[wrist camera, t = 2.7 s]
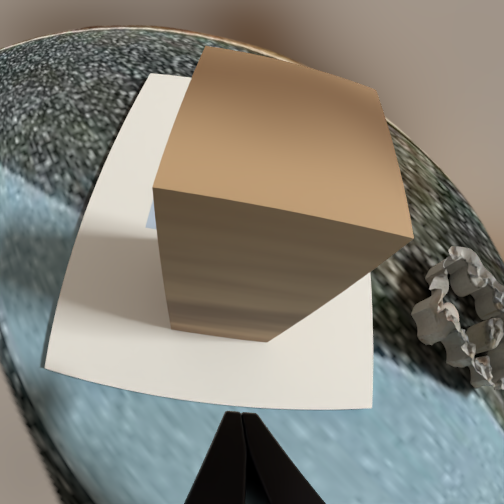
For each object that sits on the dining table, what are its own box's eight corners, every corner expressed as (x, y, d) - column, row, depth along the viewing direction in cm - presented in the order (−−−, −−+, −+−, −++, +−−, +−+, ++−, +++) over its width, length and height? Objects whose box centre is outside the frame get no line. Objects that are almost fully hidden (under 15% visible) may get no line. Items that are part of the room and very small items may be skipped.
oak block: (267, 342, 16) (413, 238, 6) (171, 329, 16) (152, 187, 5) (272, 256, 19) (375, 89, 8) (186, 242, 18) (205, 45, 7)
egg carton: (396, 326, 19) (436, 308, 16) (432, 252, 23) (465, 228, 19) (479, 403, 18) (518, 397, 14) (503, 329, 21) (536, 316, 18)
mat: (367, 408, 16) (371, 407, 16) (48, 369, 14) (44, 368, 13) (346, 117, 27) (348, 113, 26) (150, 78, 24) (150, 73, 24)
